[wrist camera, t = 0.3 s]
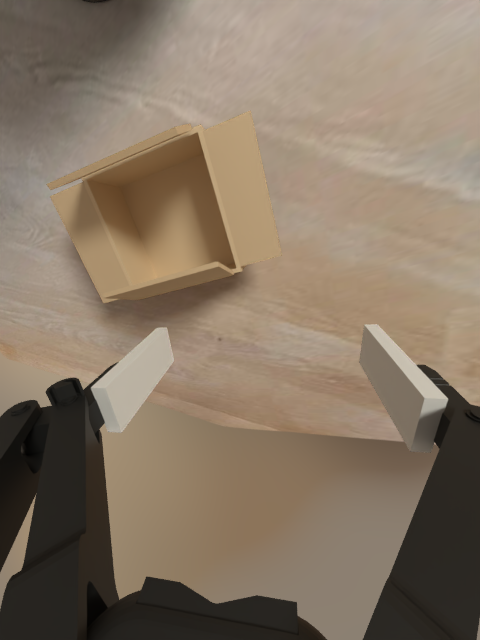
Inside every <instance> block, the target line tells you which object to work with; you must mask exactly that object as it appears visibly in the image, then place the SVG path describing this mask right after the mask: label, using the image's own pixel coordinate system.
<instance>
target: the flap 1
mask: <svg viewBox="0 0 480 640" xmlns="http://www.w3.org/2000/svg"><path fill="white" fill-rule="evenodd" d="M191 130H192V127H191V125H190V124H186V125H182V126H177V127H174V128H172V129H169V130H167V131H165V132H163V133H160V134H158V135H156V136H154V137H151V138H149V139H147V140H145V141H143V142H140V143H138V144H136V145H134V146H131V147H129V148H127V149H125V150H122V151H120V152H118V153H116V154H113V155H111V156H109V157H107V158H104V159H102V160H100V161H98V162H95V163H93V164H91V165H89V166H86V167H84V168H82V169H80V170H77V171H75V172H73V173H71V174H68V175H66V176H64V177H62V178H59V179H57V180H55V181H53V182H50V183H48V184H47V186H48V187H49V188H50V190H52V189H55V188H57V187H60V186H62V185H65V184H67V183H70V182H73V181H75V180H78V179H80V178H83V177H85V176H87V175H90V174H92V173H94V172H97V171H99V170H101V169H104V168H106V167H108V166H110V165H113V164H115V163H117V162H120V161H122V160H124V159H127V158H129V157H131V156H134V155H136V154H138V153H140V152H143V151H145V150H147V149H150V148H152V147H154V146H157V145H159V144H161V143H163V142H166V141H168V140H170V139H173V138H175V137H177V136H180V135H182V134H184V133H187V132H189V131H191Z"/></svg>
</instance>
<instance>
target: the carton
mask: <svg viewBox="0 0 480 640" xmlns="http://www.w3.org/2000/svg"><path fill="white" fill-rule="evenodd" d="M81 179H82V181H83V182H82V183H80V184H78V185H75V186H73V187H71V188H68V189H66V190H64V191H61V192H59V193H57V194H54V195H52V196H50V198H51V200H52V202H53V204H54V206H55V208H56V210H57V212H58V214H59V216H60V218H61V220H62V222H63V223H64V225H65V227H66V229H67V231H68V233H69V235H70V237H71V239H72V241H73V243H74V245H75V247H76V249H77V251H78V253H79V255H80V257H81V259H82V261H83V263H84V265H85V267H86V269H87V271H88V273H89V275H90V277H91V279H92V281H93V283H94V285H95V287H96V289H97V291H98V293H99V295H100V297H101V299H102V301H103V303H107V302H111V301H114V300H118V299H108V298H103V295H102V294H103V293H106V292H110V291H114V290H117V289H121V288H124V287H128V286H131V285H135V284H138V283H142V282H146V281H149V280H153V279H156V278H160V277H163V276H167V275H170V274H174V273H178V272H181V271H185V270H188V269H192V268H195V267H199V266H202V265H206V264H210V263H213V262H217V261H218V262H220V263H221V264H223V265H224V266H226V267H228V268H229V269H231V270H233V271H234V273H237V272H241V271H242V270H243V269H244V268H245V266H246V265H248V264H252V263H256V262H259V261H263V260H267V259H271V258H274V257H278V256H282V253H281V248H280V243H279V239H278V234H277V230H276V225H275V220H274V216H273V211H272V207H271V202H270V197H269V193H268V188H267V184H266V179H265V174H264V170H263V165H262V160H261V156H260V151H259V147H258V142H257V137H256V133H255V128H254V124H253V119H252V114H251V111H248V112H246V113H244V114H241V115H239V116H237V117H234V118H232V119H230V120H227V121H225V122H223V123H220V124H218V125H216V126H213V127H211V128H209V129H206V130H205V129H204V128H203V127H202V125H201V124H200V125H198V126H195V127H193V128H192V130H191V131H189V132H187V133H184V134H182V135H180V136H177V137H175V138H173V139H170V140H168V141H166V142H163V143H161V144H159V145H157V146H154V147H152V148H150V149H147V150H145V151H143V152H140V153H138V154H136V155H134V156H131V157H129V158H127V159H124V160H122V161H120V162H117V163H115V164H113V165H110V166H108V167H106V168H104V169H101V170H99V171H97V172H94V173H92V174H90V175H87V176H85V177H83V178H81Z"/></svg>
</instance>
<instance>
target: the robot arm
mask: <svg viewBox="0 0 480 640" xmlns="http://www.w3.org/2000/svg"><path fill="white" fill-rule="evenodd" d="M84 1H88V2H103V1H106V0H84ZM173 361H174V358H173V353H172V349H171V344H170V340H169V335H168V330H167V328H156V329H155V330H154V331H153V332H152V333H151V334H149V335H148V336H147V337H146V338H145V339H144V340H143V341H142V342H141V343H139V344H138V345H137V346H136V347H135V348H134V349H133V350H132V351H131V352H130V353H128V354H127V355H126V356H125V357H124V358H123V359H122V360H121V361H120V362H117V363H115V364H114V365H112V366H110V367H109V368H108V369H106V370H105V371H104V372H103V373H102V374H101V375H100V376H99V377H98V378H96V379H95V380H94V381H93V382H92V383H91V384H89V385H88V386H87V387H86V388H85V389H84V390H83V388H82V386H81V383H80V381H79V379H78V378H68V379H64V380H61V381H59V382H57V383H55V384H53V385H51V386H50V387H49V388H48V389H47V391H46V394H47V396H48V398H49V400H50V402H51V404H52V406H47V407H42V408H40V406H39V404H38V402H37V401H35V400H29V401H25V402H21V403H18V404H16V405H14V406H13V407H11V408H10V409H8V410H7V411H6V412H5V413H4V414H3V415H2V416H1V417H0V572H1V569H2V567H3V565H4V563H5V560H6V558H7V556H8V554H9V552H10V549H11V547H12V545H13V543H14V541H15V539H16V536H17V534H18V532H19V530H20V528H21V526H22V523H23V521H24V519H25V517H26V515H27V512H28V510H29V508H30V505H31V504H32V501H33V499H34V497H35V495H36V499H35V504H34V510H33V516H32V521H31V526H30V532H29V537H28V543H27V548H26V554H25V560H24V564H23V568H22V570H21V571H20V572H18V573H16V574H15V575H13V576H12V577H11V578H10V580H9V582H8V583H7V586H6V589H5V592H4V596H3V600H2V605H1V609H0V640H327V639H326V638H325V637H324V636H323V635H322V634H321V633H320V632H319V631H318V630H317V629H316V628H315V627H313V626H312V625H311V624H309V623H308V622H307V621H305V620H303V619H302V618H300V617H299V616H297V602H292V601H286V600H280V599H275V598H269V597H263V596H252V597H248V598H243V599H238V600H233V601H229V602H224V603H219V604H215V603H212V602H210V601H209V600H207V599H206V598H204V597H203V596H201V595H199V594H198V593H196V592H194V591H193V590H192V589H190V588H188V587H187V586H185V585H184V584H182V583H180V582H175V581H170V580H164V579H158V578H152V577H146V579H145V582H144V584H143V587H142V590H140V591H137V592H134V593H132V594H129V595H127V596H126V597H124V598H122V599H120V600H119V597H118V593H117V590H116V585H115V579H114V570H113V557H112V547H111V535H110V524H109V513H108V501H107V490H106V479H105V469H104V457H103V446H102V436H101V432H100V430H99V429H100V428H101V427H102V425H103V424H104V423H105V425H106V428H107V430H108V432H118V433H122V432H123V430H124V429H125V427H126V426H127V425H128V423H129V422H130V421H131V419H132V418H133V417H134V415H135V414H136V412H137V411H138V410H139V408H140V407H141V406H142V404H143V403H144V401H145V400H146V399H147V397H148V396H149V395H150V393H151V392H152V390H153V389H154V388H155V386H156V385H157V384H158V382H159V381H160V379H161V378H162V377H163V375H164V374H165V373H166V371H167V370H168V368H169V367H170V366H171V364H172V363H173ZM359 363H360V365H361V366H362V368H363V370H364V372H365V373H366V375H367V377H368V379H369V380H370V382H371V384H372V386H373V387H374V389H375V391H376V393H377V394H378V396H379V398H380V400H381V401H382V403H383V405H384V407H385V408H386V410H387V412H388V414H389V415H390V417H391V419H392V420H393V422H394V424H395V426H396V427H397V429H398V431H399V433H400V434H401V436H402V438H403V440H404V441H405V443H406V445H407V447H408V448H409V450H410V451H411V452H426V453H427V452H428V453H431V451H432V448H433V445H434V442H435V443H436V444H437V446H438V447H439V449H440V450H439V453H438V455H437V457H436V460H435V462H434V465H433V467H432V470H431V472H430V475H429V477H428V480H427V482H426V485H425V487H424V490H423V492H422V495H421V498H420V500H419V503H418V505H417V508H416V510H415V513H414V515H413V518H412V520H411V523H410V525H409V528H408V530H407V533H406V536H405V538H404V540H403V543H402V545H401V548H400V550H399V553H398V556H397V558H396V561H395V564H394V566H393V569H392V571H391V573H390V575H389V578H388V579H387V581H386V583H385V586H384V588H383V590H382V593H381V596H380V598H379V601H378V603H377V605H376V608H375V610H374V613H373V615H372V618H371V620H370V623H369V625H368V628H367V630H366V633H365V635H364V638H363V640H476V639H477V631H478V625H479V618H480V407H478V406H475V405H470V404H469V403H468V402H467V401H466V400H465V399H464V398H463V397H462V396H461V395H460V394H459V393H458V392H457V391H456V390H455V389H454V388H453V387H452V386H449V383H448V382H447V381H445V380H443V378H442V377H441V376H440V375H439V374H438V373H437V372H436V371H435V370H433V369H431V368H429V367H428V366H426V365H416V364H415V363H414V362H413V361H412V360H411V359H410V358H409V357H408V356H407V355H406V354H405V353H404V352H403V351H402V350H401V349H400V348H399V347H398V345H397V344H396V343H395V342H394V341H393V340H392V339H391V338H390V337H389V336H388V335H387V334H386V333H385V332H384V331H383V330H382V329H381V328H380V327H379V325H378V324H373V325H364V330H363V338H362V345H361V353H360V361H359ZM36 493H37V494H36Z"/></svg>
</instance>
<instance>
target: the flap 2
mask: <svg viewBox="0 0 480 640" xmlns="http://www.w3.org/2000/svg"><path fill="white" fill-rule="evenodd" d="M233 275H234V271H233V270H231V269H229V268H228V267H226V266H224V265H223V264H221V263H220V262H218V261H217V262H213V263H210V264H206V265H202V266H199V267H195V268H192V269H188V270H185V271H181V272H178V273H174V274H170V275H167V276H163V277H160V278H156V279H153V280H149V281H146V282H142V283H138V284H135V285H131V286H128V287H124V288H121V289H117V290H114V291H110V292H106V293H103V294H102V295H103V298H108V299H126V300H141V299H145V298H149V297H153V296H156V295H160V294H164V293H168V292H172V291H175V290H179V289H183V288H187V287H191V286H195V285H198V284H202V283H206V282H210V281H214V280H217V279H221V278H225V277H229V276H233Z"/></svg>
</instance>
